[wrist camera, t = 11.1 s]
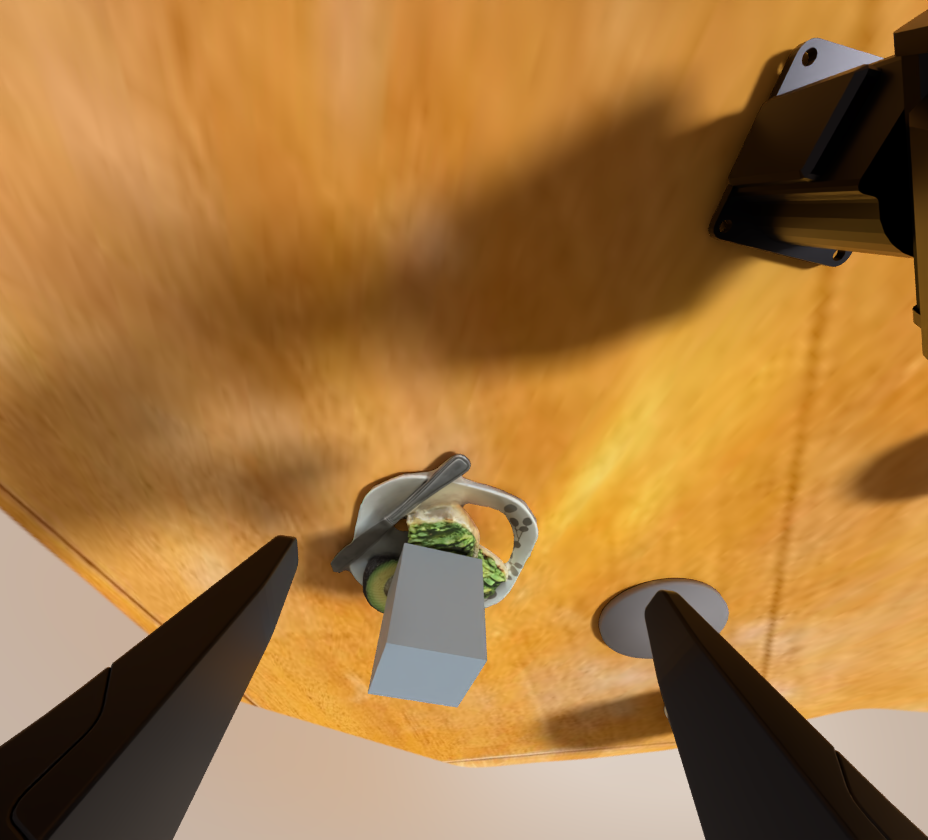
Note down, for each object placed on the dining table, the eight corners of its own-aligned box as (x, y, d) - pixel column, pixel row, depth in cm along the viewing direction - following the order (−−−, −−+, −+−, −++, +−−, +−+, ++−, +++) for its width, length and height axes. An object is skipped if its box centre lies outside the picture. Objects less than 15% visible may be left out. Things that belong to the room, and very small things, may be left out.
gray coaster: (749, 588, 29) (754, 595, 28) (685, 657, 34) (689, 664, 33) (628, 569, 28) (631, 576, 27) (581, 643, 33) (583, 650, 32)
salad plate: (366, 416, 22) (350, 449, 19) (571, 474, 24) (586, 512, 21) (331, 571, 29) (315, 613, 26) (492, 605, 31) (495, 648, 28)
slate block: (482, 559, 23) (487, 660, 18) (458, 606, 26) (457, 707, 21) (404, 542, 23) (386, 642, 17) (387, 592, 25) (367, 693, 20)
